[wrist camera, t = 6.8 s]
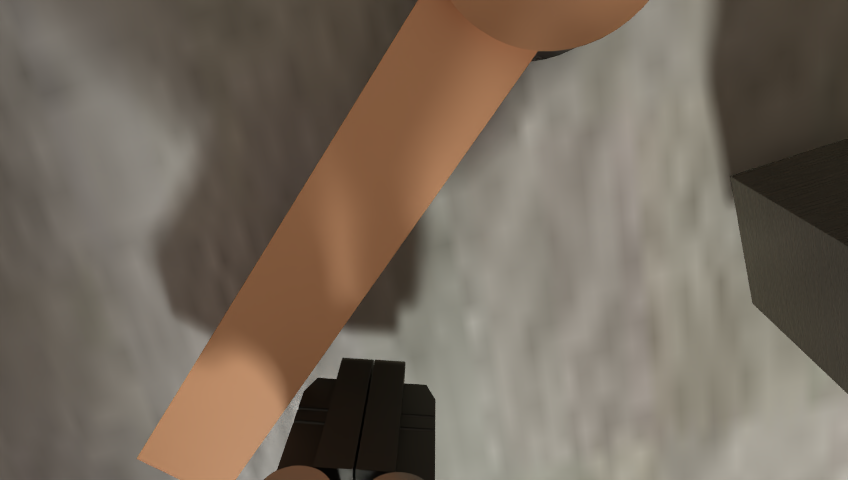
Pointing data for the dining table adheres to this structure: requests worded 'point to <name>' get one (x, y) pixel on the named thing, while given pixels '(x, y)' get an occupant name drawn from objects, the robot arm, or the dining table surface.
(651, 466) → the dining table surface
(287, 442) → the robot arm
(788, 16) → the dining table surface
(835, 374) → the dark grey hammer
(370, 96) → the latch bar
